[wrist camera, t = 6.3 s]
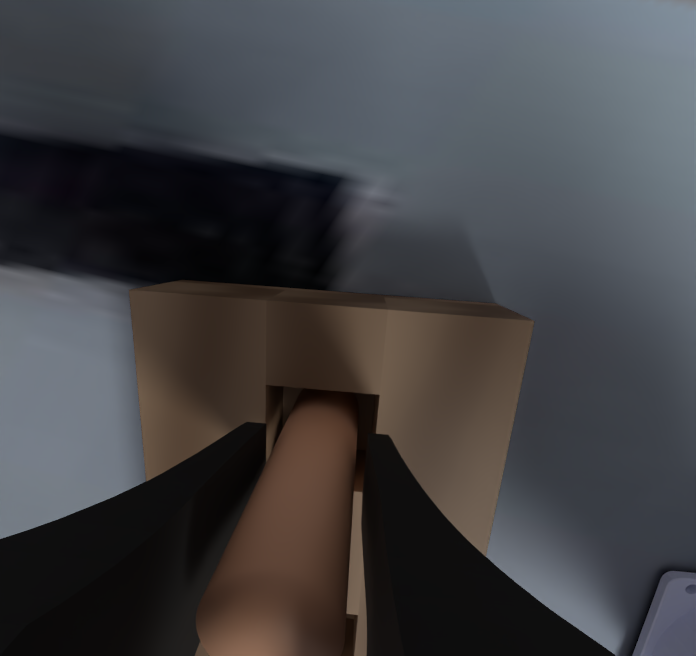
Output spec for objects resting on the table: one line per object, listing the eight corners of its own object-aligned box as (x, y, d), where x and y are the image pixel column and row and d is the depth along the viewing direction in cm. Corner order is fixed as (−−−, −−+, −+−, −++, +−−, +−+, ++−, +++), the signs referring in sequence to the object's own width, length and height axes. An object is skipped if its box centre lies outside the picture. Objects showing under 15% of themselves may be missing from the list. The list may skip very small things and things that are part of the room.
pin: (361, 382, 13) (352, 581, 5) (355, 440, 14) (338, 696, 6) (297, 375, 13) (194, 560, 5) (294, 433, 14) (196, 676, 6)
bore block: (496, 303, 13) (534, 321, 10) (433, 656, 17) (447, 741, 14) (182, 280, 13) (128, 289, 10) (200, 629, 17) (166, 706, 15)
